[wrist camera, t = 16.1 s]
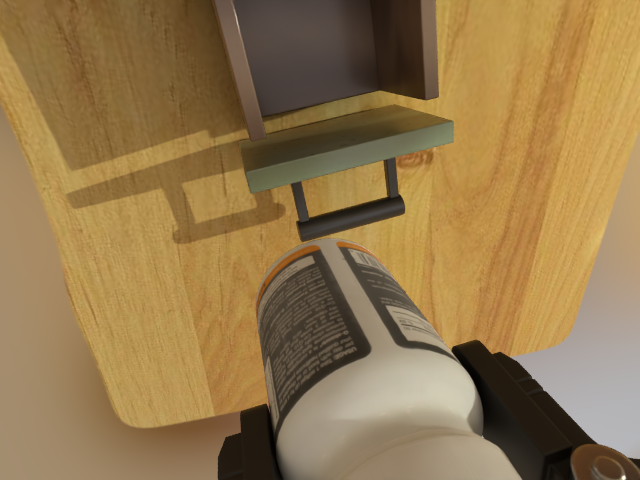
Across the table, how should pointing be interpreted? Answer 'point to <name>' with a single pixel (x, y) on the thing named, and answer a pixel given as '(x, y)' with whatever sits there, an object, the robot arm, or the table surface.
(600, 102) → the table surface
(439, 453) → the pill bottle
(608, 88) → the table surface
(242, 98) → the drawer
